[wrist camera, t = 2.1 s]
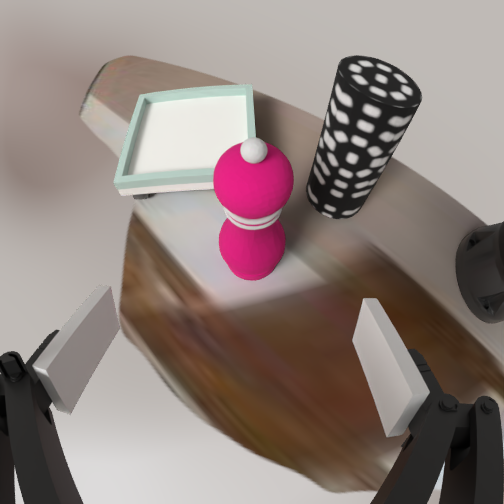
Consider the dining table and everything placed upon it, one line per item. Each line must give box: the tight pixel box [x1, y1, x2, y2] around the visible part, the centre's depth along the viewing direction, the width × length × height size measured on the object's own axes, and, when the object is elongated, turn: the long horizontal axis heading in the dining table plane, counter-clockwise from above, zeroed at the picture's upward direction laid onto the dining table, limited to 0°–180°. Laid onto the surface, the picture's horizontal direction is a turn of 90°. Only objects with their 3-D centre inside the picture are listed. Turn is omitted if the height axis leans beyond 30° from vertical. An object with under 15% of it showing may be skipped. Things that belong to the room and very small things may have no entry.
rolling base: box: [114, 85, 256, 199], centre depth 40 cm, size 18×18×6 cm
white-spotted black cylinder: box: [306, 56, 422, 219], centre depth 31 cm, size 8×8×20 cm
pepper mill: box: [213, 137, 294, 280], centre depth 27 cm, size 7×7×20 cm
